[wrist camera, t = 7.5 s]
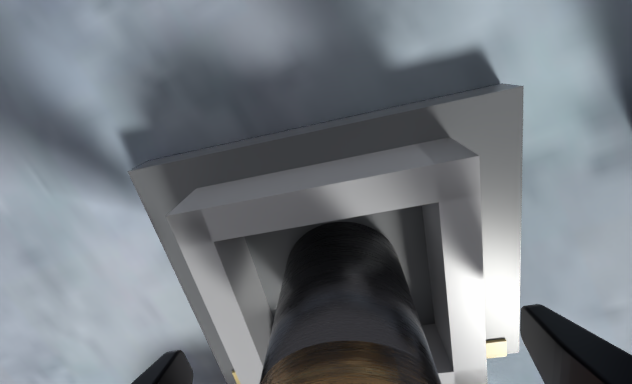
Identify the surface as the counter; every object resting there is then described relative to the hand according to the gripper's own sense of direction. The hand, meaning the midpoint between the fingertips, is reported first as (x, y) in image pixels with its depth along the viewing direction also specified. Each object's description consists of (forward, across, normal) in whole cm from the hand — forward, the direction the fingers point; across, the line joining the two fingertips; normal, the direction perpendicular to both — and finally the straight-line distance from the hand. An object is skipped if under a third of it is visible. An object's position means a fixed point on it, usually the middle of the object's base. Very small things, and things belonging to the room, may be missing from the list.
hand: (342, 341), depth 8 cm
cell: (+3, 0, 0) cm, 3 cm away
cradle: (+4, 0, 0) cm, 4 cm away
